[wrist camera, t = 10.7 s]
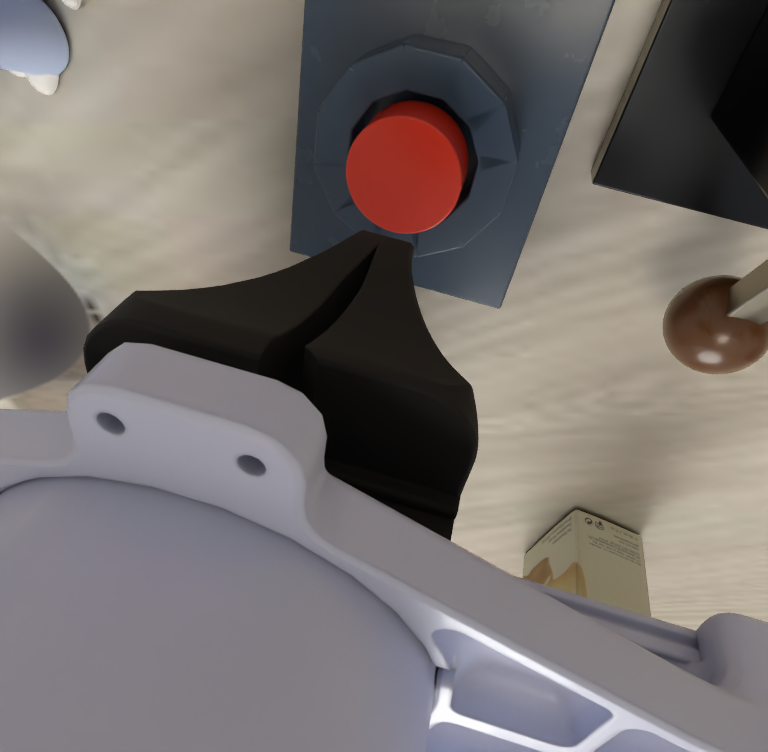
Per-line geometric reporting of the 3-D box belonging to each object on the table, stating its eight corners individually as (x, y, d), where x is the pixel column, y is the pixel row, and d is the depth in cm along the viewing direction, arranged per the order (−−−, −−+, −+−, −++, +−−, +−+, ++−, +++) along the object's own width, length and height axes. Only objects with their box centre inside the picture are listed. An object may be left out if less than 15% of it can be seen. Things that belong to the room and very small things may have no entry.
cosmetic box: (575, 504, 31) (582, 749, 22) (644, 533, 32) (680, 788, 22) (519, 557, 36) (506, 781, 27) (581, 582, 36) (589, 813, 27)
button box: (502, 288, 24) (496, 335, 21) (302, 233, 25) (272, 272, 22) (616, -21, 17) (627, -7, 14) (327, -88, 17) (286, -87, 15)
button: (453, 224, 19) (445, 246, 18) (353, 197, 20) (338, 218, 18) (482, 115, 17) (476, 133, 16) (368, 86, 17) (353, 101, 16)
